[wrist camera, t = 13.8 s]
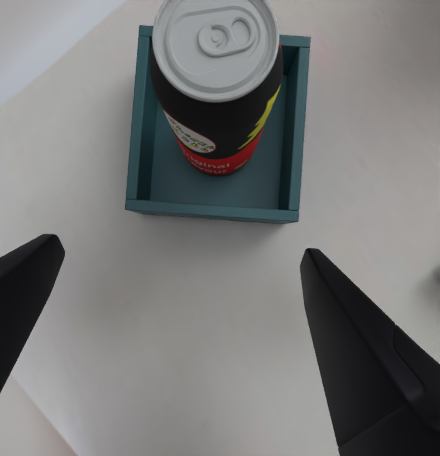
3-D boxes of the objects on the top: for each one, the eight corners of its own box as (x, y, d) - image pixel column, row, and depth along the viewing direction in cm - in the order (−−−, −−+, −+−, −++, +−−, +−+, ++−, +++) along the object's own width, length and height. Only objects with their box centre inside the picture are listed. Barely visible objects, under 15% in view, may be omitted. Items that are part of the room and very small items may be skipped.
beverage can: (173, 116, 23) (119, -18, 11) (244, 97, 23) (271, -58, 11) (192, 186, 22) (159, 132, 10) (263, 167, 22) (312, 91, 10)
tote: (284, 224, 23) (298, 222, 19) (141, 213, 23) (124, 209, 19) (294, 71, 23) (310, 36, 19) (153, 61, 23) (139, 24, 19)
